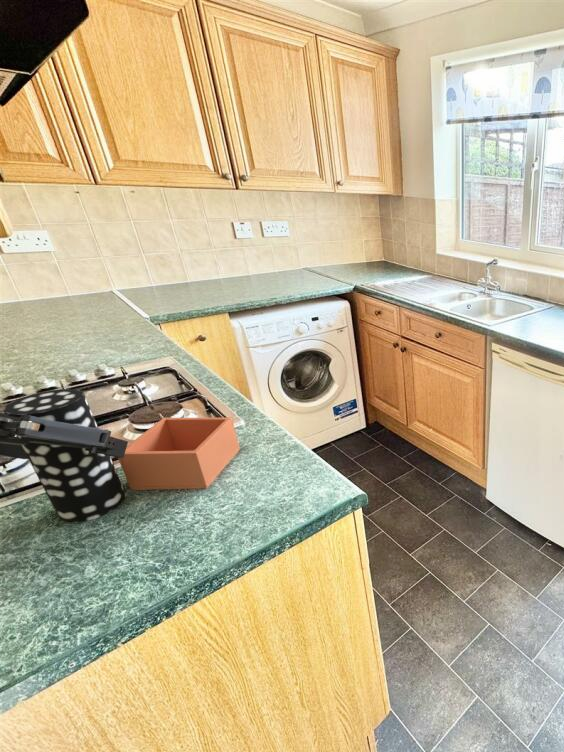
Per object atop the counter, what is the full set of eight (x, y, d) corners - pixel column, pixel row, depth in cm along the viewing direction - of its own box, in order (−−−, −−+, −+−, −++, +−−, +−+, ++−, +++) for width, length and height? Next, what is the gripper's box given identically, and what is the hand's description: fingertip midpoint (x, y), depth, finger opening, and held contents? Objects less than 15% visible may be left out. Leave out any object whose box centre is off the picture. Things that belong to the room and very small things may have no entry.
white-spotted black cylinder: (60, 502, 71) (7, 397, 62) (125, 483, 76) (84, 384, 68) (57, 531, 65) (-1, 420, 57) (127, 508, 71) (83, 404, 62)
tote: (131, 490, 75) (116, 454, 71) (174, 450, 86) (163, 417, 83) (207, 488, 76) (196, 453, 73) (240, 449, 87) (231, 417, 84)
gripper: (-234, 448, 45) (-21, 475, 65) (28, 445, 48) (155, 472, 68) (-196, 382, 47) (-2, 428, 67) (50, 383, 50) (166, 427, 70)
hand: (77, 450), depth 67 cm, fingers open, 13 cm apart
